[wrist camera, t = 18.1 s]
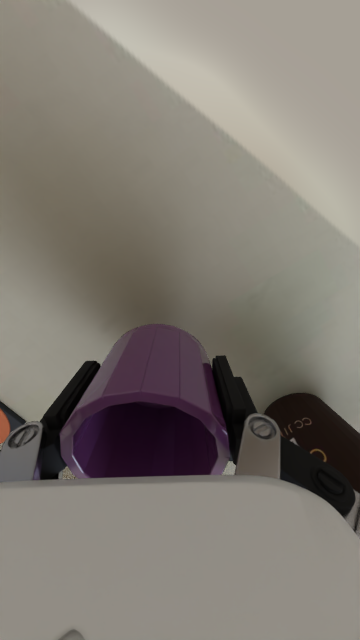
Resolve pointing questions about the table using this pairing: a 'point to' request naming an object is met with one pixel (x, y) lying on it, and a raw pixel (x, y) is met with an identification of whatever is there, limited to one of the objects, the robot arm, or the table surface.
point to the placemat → (8, 422)
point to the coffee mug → (319, 432)
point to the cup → (148, 411)
